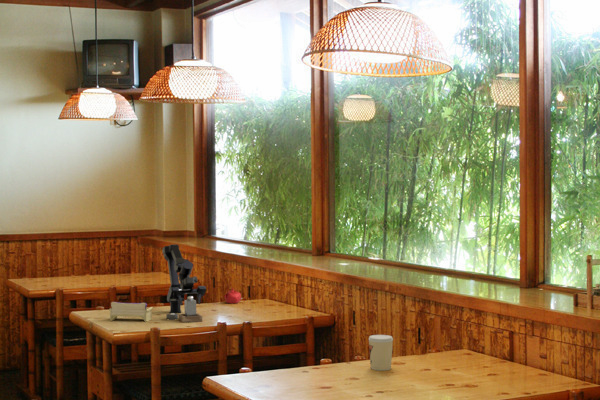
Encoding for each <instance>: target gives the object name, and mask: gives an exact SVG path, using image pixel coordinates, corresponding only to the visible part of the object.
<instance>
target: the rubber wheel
mask: <svg viewBox="0 0 600 400" xmlns="http://www.w3.org/2000/svg"><path fill="white" fill-rule="evenodd" d="M167 319H169V320H168V321H174V320H175V319H176V320H179V313H170V312H169V313H166V320H167Z"/></svg>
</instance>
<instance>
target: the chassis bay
mask: <svg viewBox="0 0 600 400" xmlns="http://www.w3.org/2000/svg"><path fill="white" fill-rule="evenodd" d="M178 321H180V322H181V323H183V324H187V323H200V322H201V323H202V322H203V315H202V314H200V313H198V312H196V316H187V317H185V313H178Z"/></svg>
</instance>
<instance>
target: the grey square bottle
mask: <svg viewBox="0 0 600 400" xmlns="http://www.w3.org/2000/svg"><path fill="white" fill-rule="evenodd" d="M186 298H187V299H184V301H183V302H184V303H183V305H184V306H183V307H184V314H185V317H187V316H196V313H197V299H194V296H193V295H189V296H188V295H187V297H186Z"/></svg>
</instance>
